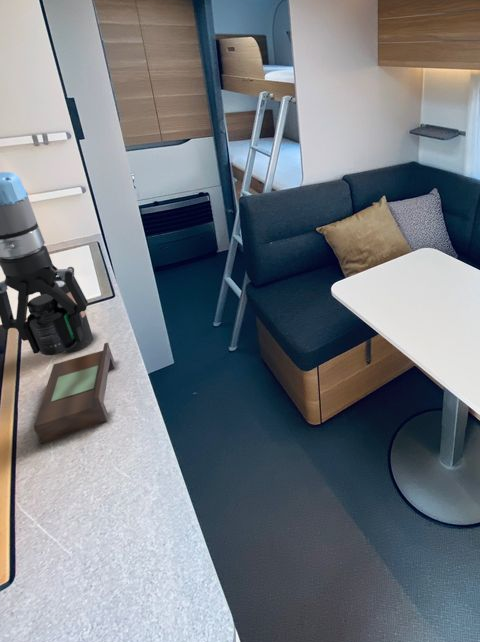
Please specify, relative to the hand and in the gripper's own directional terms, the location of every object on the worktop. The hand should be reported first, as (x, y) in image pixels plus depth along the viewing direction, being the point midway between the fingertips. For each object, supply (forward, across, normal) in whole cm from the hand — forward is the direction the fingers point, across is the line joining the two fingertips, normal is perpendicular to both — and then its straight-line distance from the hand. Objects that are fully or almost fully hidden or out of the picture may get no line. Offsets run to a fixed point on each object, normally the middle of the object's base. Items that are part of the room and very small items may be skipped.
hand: (59, 343), depth 89 cm
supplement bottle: (+1, 0, 0) cm, 1 cm away
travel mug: (+17, -4, +25) cm, 31 cm away
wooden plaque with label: (+17, 0, +1) cm, 17 cm away
